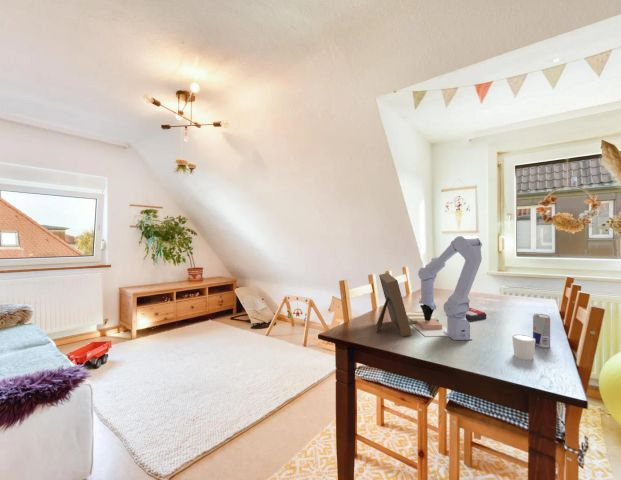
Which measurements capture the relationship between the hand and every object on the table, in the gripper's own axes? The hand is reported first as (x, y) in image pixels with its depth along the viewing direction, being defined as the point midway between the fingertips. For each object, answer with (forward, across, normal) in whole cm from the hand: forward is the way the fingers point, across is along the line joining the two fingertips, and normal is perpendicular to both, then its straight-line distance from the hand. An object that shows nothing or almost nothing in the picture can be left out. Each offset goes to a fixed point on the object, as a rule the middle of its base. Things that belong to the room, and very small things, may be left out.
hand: (427, 320), depth 140 cm
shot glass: (+3, +36, +20) cm, 41 cm away
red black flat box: (+3, -14, +27) cm, 30 cm away
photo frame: (+3, +2, -19) cm, 20 cm away
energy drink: (+3, +26, +34) cm, 43 cm away
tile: (+2, +2, 0) cm, 3 cm away
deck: (+3, -10, 0) cm, 10 cm away
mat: (+3, +6, 0) cm, 7 cm away
